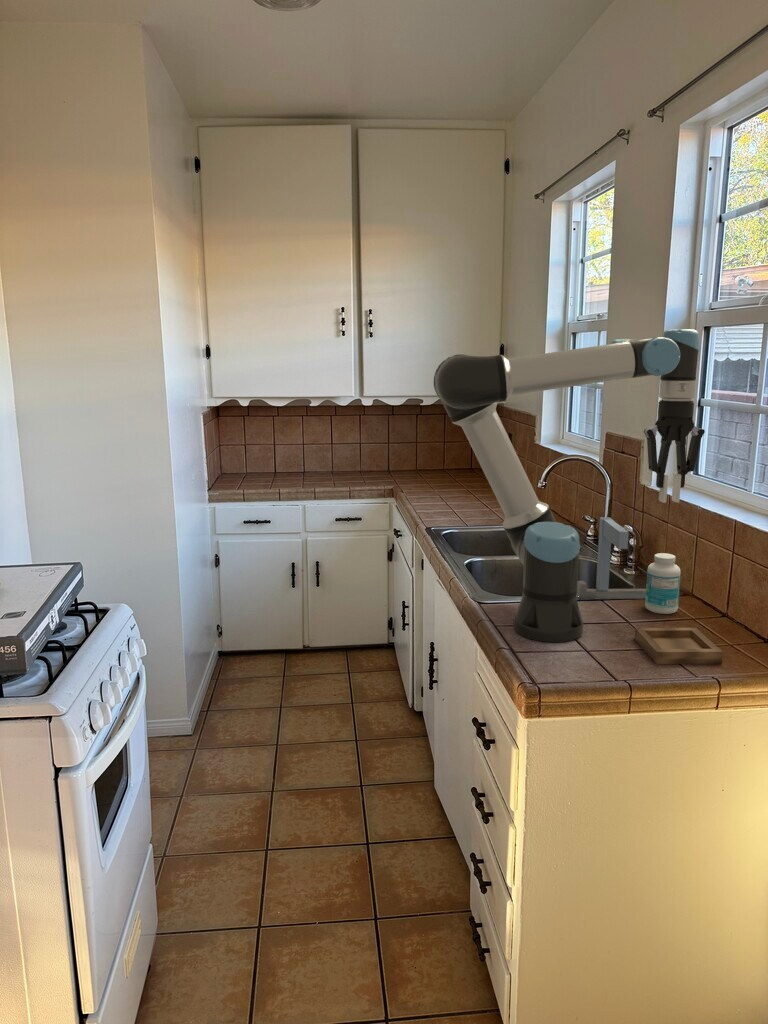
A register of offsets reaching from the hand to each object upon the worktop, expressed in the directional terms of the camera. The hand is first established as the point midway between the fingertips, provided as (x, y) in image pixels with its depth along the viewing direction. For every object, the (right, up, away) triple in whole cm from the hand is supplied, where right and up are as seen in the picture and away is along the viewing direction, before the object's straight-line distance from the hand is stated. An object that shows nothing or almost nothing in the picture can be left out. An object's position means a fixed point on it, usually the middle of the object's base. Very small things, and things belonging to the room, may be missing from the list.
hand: (668, 501), depth 170 cm
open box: (-6, -31, -19) cm, 37 cm away
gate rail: (-6, -24, +14) cm, 29 cm away
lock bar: (-11, -23, +8) cm, 27 cm away
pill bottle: (0, -26, +6) cm, 27 cm away
